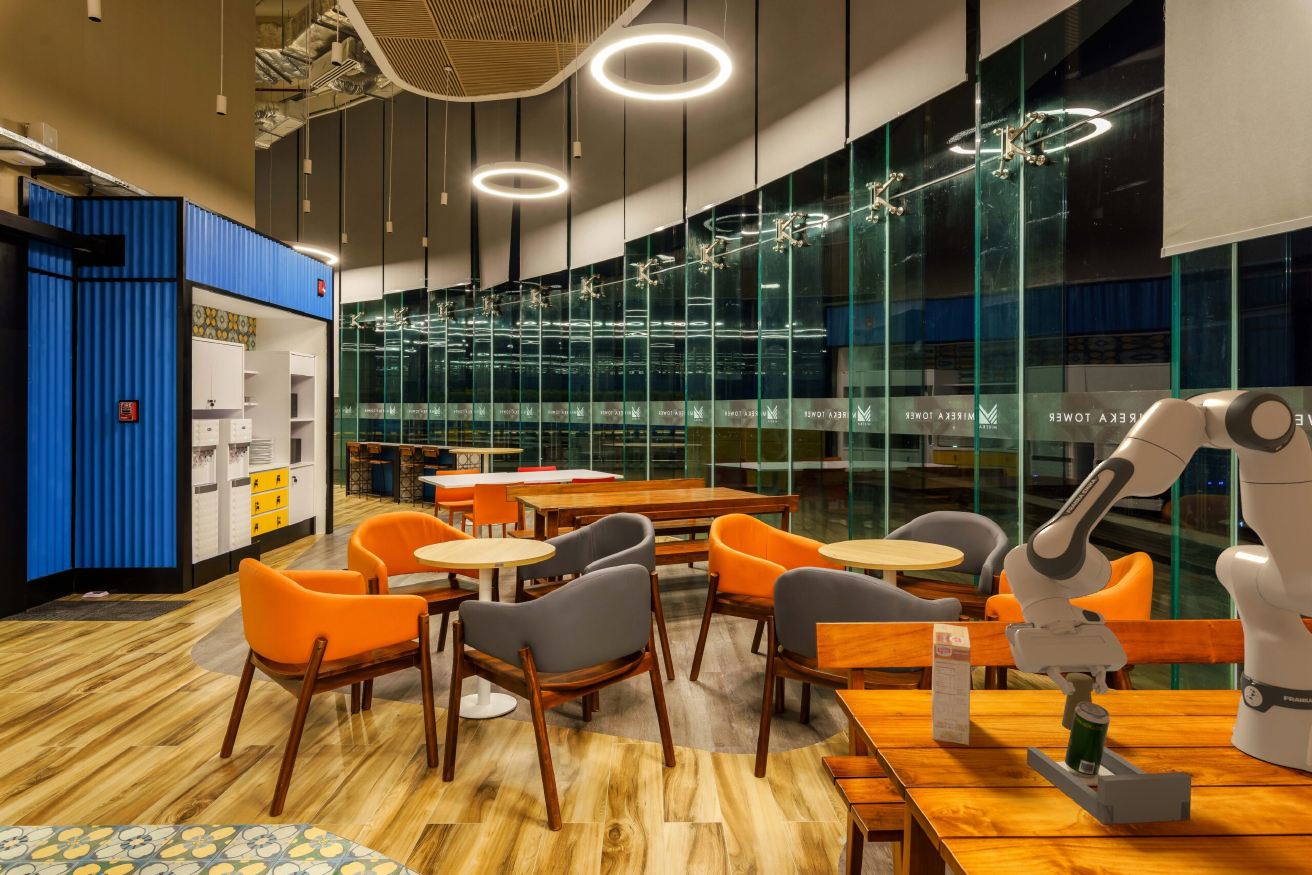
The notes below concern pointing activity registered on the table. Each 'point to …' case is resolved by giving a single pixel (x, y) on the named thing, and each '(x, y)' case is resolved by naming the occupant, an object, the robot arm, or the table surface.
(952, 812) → the table surface
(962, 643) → the coffeecake box
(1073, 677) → the cork
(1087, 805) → the bay
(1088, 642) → the robot arm
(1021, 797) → the table surface
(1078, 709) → the beer can
